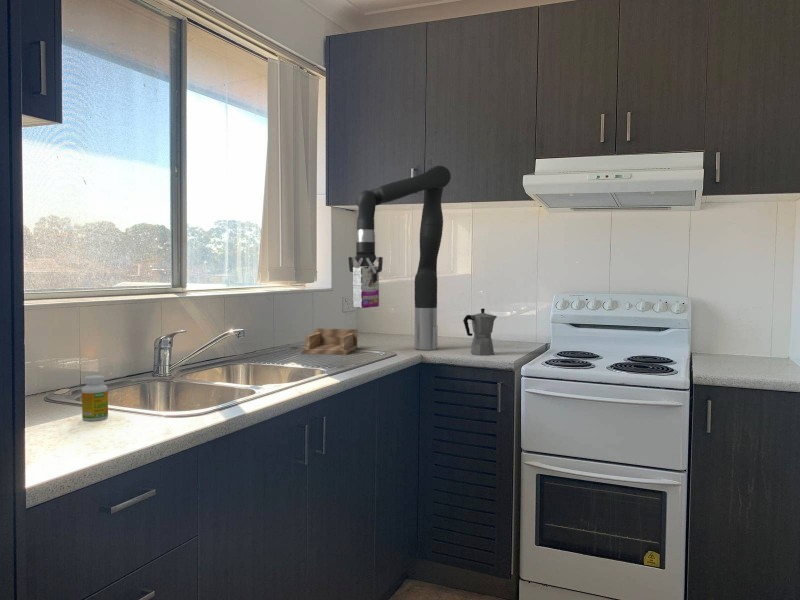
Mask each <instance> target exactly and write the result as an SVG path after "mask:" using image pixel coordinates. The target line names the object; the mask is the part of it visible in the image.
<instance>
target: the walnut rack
mask: <svg viewBox="0 0 800 600" xmlns="http://www.w3.org/2000/svg"><path fill="white" fill-rule="evenodd" d="M313 332H314V333H312V334H309V335H306V336H305V348H302V349H301V354H308V355H309V354H311V355H314V354H315V355H345V356H346V355H348V354H350V353H352V352H354V351H355V350H357V349H358V328H355V329H354V328H353V329H351V328H316V327H315V328H314V331H313ZM353 350H354V351H353ZM351 351H352V352H351Z"/></svg>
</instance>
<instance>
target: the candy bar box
mask: <svg viewBox="0 0 800 600" xmlns="http://www.w3.org/2000/svg"><path fill="white" fill-rule="evenodd" d="M375 268H376V269H378V265H377V266H375ZM379 273H380V272H379ZM379 273H378V274H377V281H376V283H373V274H374V272H373V271H372V269H371V267H367V266H364V267H356V266H354V267H353V272H352V293H353V294H352V299H353V301H352V303H353V308H356V309H365V308H366V309H367V308H368V309H369V308H377V307H380V302H379V301H380V289H379V284H380V282H379V280H380V279H379Z"/></svg>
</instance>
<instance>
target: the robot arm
mask: <svg viewBox="0 0 800 600" xmlns="http://www.w3.org/2000/svg"><path fill="white" fill-rule="evenodd" d="M451 176H452V175H451V172H450V170H449V169H448V167H446V166H443V165H435V166H433V167H430V168H429V169H427V171H426V172H423V173H420V174H417V175H415V176H412V177H408V178H405V179H400V180H397V181H392V182H389V183H386V184H383V185H381V186H378V187H377V188H373V189H369V190H362V191H361V192H359V193H358V194H357V196H356V197H355V203H356V206H357V207H358V213H357V214H358V215H357V219H356V237H355V241H356V242H355V244H356V245H355V246H356V249H355V251H356V254H355V256H348V268H349V273H353V267H365V266H367V267H371V269H372V271H373V272H374V274H373V283H376V281H377V274H378V273H381V272H382V271H383V263H384V258H383V256H376V234H375V233H376V232H375V212H376V207H377V206H379V205H381V204H386V203H390V202H393V201H397V200H399V199H402V198H405V197H407V196H411V195H413V194H416V193H418V192H421V191H423V192H424V198H423V206H422V211H421V219H420V228H419V260H418V266H417V271H416V274H415V277H414V349H415V350H419V351H431V350H433V351H434V350H435V351H436V350H437V349H438V330H439V329H438V328H439V327H438V271H437V270H438V266H437V265H438V256H439V251H440V247H441V243H442V237H443V229H444V216H443V209H442V208H443V207H442V196H443V191H444V188H445V187H447V186H448V185H449V183H450V181H451V178H452V177H451ZM355 261H356V262H357V264H356V266H354V262H355ZM375 261H376V262H377V266H378V269H376V268H375Z"/></svg>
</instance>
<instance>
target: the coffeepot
mask: <svg viewBox="0 0 800 600" xmlns="http://www.w3.org/2000/svg"><path fill="white" fill-rule="evenodd" d="M485 310H486V308H483V307H482V308H480V313H475V314H467V315H465V317H464V318H463V320H462V321H463V325H464V328H465V332H466V335H467V336H469V337H472V336H473V338H472V342H471V347H470V348H471V349H470V354H471V355H473V356H492V355H494V354H495V352H494V345H493V338H492V333H493V328H494V324H495V323H494V322H495V320H496V319H497V317H498V316H497V315H494V314H489V313H486V312H485ZM468 321H471V326H472V332H473V333H472V332H470V331H471V330H470V329H471V328H470V327H469V322H468Z"/></svg>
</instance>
